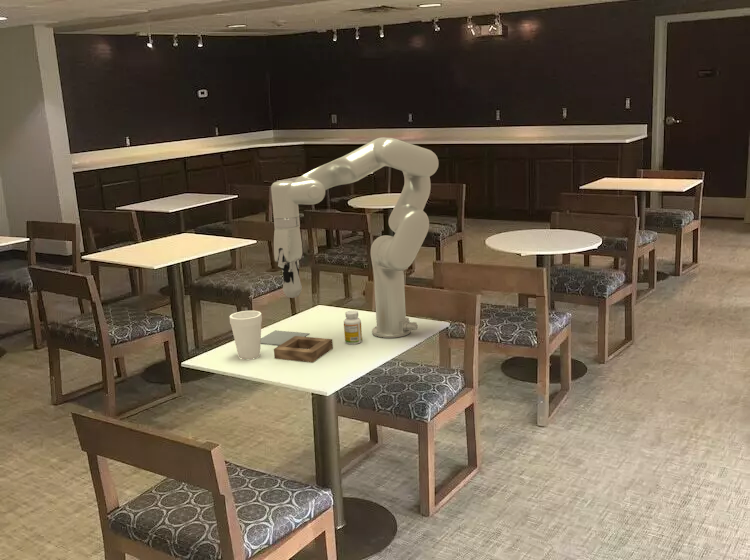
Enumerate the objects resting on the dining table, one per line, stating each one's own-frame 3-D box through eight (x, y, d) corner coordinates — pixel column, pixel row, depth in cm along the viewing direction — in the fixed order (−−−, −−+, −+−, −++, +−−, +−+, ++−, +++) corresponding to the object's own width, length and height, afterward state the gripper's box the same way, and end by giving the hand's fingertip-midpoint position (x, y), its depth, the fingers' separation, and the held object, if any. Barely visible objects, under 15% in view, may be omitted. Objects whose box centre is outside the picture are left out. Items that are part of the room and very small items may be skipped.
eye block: (332, 348, 235) (332, 339, 234) (312, 362, 223) (312, 352, 222) (295, 345, 240) (295, 335, 239) (274, 358, 228) (273, 348, 228)
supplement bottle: (352, 338, 244) (350, 309, 241) (365, 341, 240) (364, 311, 238) (341, 343, 240) (339, 313, 237) (354, 345, 236) (352, 315, 234)
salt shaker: (304, 293, 235) (301, 251, 231) (299, 298, 229) (296, 255, 226) (286, 293, 236) (282, 252, 232) (281, 298, 230) (277, 256, 227)
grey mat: (309, 334, 250) (309, 333, 250) (289, 346, 238) (289, 345, 238) (275, 331, 255) (275, 330, 255) (254, 343, 244) (254, 342, 244)
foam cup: (246, 349, 238) (242, 309, 235) (271, 352, 234) (267, 311, 231) (227, 359, 230) (223, 317, 227) (252, 362, 225) (248, 320, 222)
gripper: (288, 218, 236) (293, 276, 240) (262, 227, 221) (267, 289, 225) (310, 218, 233) (314, 277, 237) (285, 228, 218) (290, 290, 223)
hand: (291, 282), depth 231 cm, fingers closed on salt shaker, 3 cm apart
